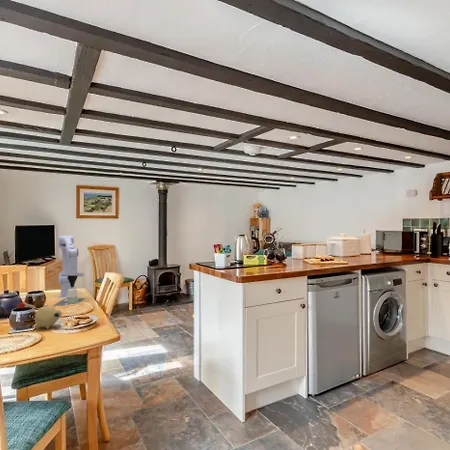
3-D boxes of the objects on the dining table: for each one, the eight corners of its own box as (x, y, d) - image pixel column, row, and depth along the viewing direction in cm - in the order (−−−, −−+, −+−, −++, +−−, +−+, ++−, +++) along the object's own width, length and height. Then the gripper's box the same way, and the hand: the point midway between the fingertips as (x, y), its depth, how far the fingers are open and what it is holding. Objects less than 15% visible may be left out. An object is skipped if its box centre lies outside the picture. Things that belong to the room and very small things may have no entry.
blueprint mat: (64, 298, 219) (64, 298, 219) (85, 298, 220) (85, 297, 220) (52, 306, 199) (52, 305, 199) (75, 305, 201) (75, 305, 201)
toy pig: (58, 329, 156) (58, 308, 156) (31, 331, 153) (31, 309, 153) (63, 323, 165) (63, 303, 165) (38, 325, 162) (38, 304, 162)
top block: (69, 295, 208) (69, 288, 208) (76, 295, 208) (76, 288, 208) (67, 297, 204) (67, 290, 203) (74, 297, 204) (74, 290, 204)
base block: (69, 302, 208) (69, 295, 208) (76, 302, 209) (76, 295, 209) (67, 304, 204) (67, 297, 204) (74, 303, 204) (74, 297, 204)
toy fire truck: (40, 322, 167) (40, 304, 167) (17, 321, 168) (17, 303, 168) (45, 320, 170) (45, 302, 170) (21, 319, 172) (21, 302, 172)
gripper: (58, 267, 205) (58, 288, 205) (81, 267, 206) (81, 288, 206) (63, 266, 212) (63, 286, 212) (85, 266, 213) (85, 285, 213)
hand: (72, 287), depth 210 cm, fingers closed
